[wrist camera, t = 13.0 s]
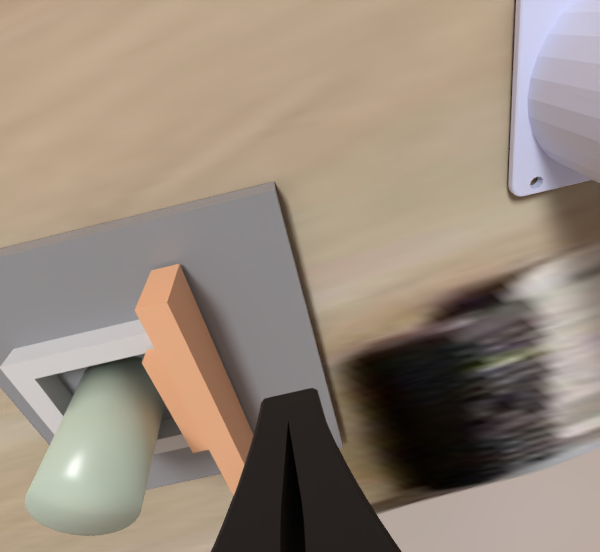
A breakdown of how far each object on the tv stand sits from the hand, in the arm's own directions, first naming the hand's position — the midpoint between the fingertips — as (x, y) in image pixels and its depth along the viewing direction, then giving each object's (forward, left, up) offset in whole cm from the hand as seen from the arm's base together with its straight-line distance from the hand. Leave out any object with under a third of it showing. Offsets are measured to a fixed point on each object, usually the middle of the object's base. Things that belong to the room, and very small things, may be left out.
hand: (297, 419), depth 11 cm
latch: (+5, +5, -8) cm, 11 cm away
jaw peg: (+9, +5, -8) cm, 13 cm away
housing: (+7, +5, -9) cm, 13 cm away
